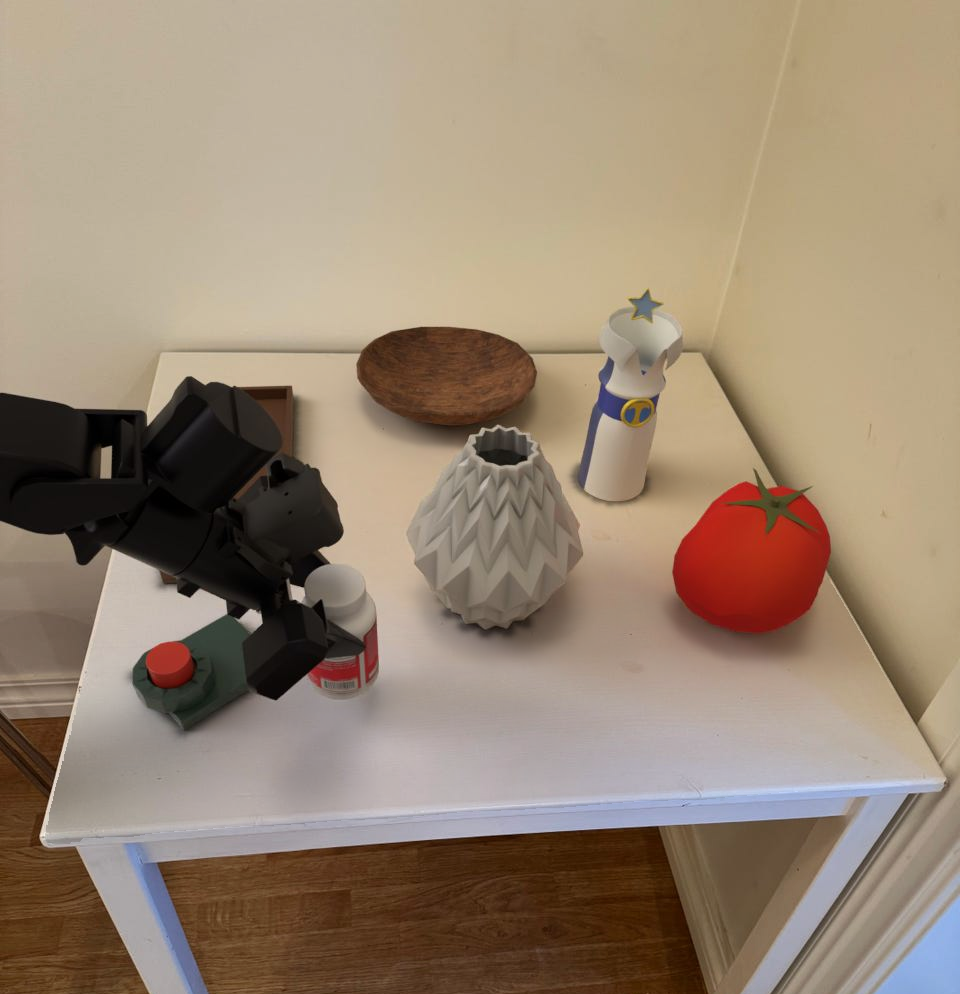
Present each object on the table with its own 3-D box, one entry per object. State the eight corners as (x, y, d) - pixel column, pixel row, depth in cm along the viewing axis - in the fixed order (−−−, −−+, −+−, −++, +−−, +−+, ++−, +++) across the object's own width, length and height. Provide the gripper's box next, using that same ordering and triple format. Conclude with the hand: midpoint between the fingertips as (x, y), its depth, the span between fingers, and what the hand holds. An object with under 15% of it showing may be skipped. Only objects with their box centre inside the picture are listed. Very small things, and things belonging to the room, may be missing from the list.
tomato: (756, 548, 92) (798, 444, 82) (835, 640, 84) (892, 536, 74) (628, 580, 88) (656, 474, 78) (697, 681, 79) (738, 576, 69)
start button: (165, 696, 72) (160, 681, 71) (143, 671, 74) (137, 656, 72) (202, 673, 74) (198, 658, 72) (180, 650, 76) (175, 634, 74)
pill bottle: (353, 636, 77) (347, 545, 68) (393, 679, 74) (391, 590, 65) (292, 668, 74) (278, 577, 66) (331, 714, 71) (322, 626, 63)
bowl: (536, 453, 101) (540, 418, 98) (350, 445, 101) (347, 409, 97) (530, 363, 115) (534, 329, 111) (365, 355, 114) (363, 320, 110)
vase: (387, 563, 88) (381, 409, 74) (533, 530, 92) (552, 379, 78) (439, 681, 78) (443, 529, 64) (600, 638, 82) (635, 487, 69)
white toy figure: (658, 501, 97) (715, 289, 78) (585, 505, 95) (625, 292, 77) (638, 456, 102) (687, 248, 83) (569, 460, 101) (602, 250, 82)
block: (170, 739, 72) (162, 718, 70) (122, 683, 76) (113, 662, 74) (281, 669, 78) (276, 648, 76) (231, 620, 81) (225, 599, 79)
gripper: (278, 557, 50) (455, 649, 60) (248, 381, 61) (400, 484, 72) (165, 666, 54) (349, 734, 64) (157, 481, 65) (314, 564, 76)
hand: (355, 620), depth 69 cm, fingers closed on pill bottle, 6 cm apart
